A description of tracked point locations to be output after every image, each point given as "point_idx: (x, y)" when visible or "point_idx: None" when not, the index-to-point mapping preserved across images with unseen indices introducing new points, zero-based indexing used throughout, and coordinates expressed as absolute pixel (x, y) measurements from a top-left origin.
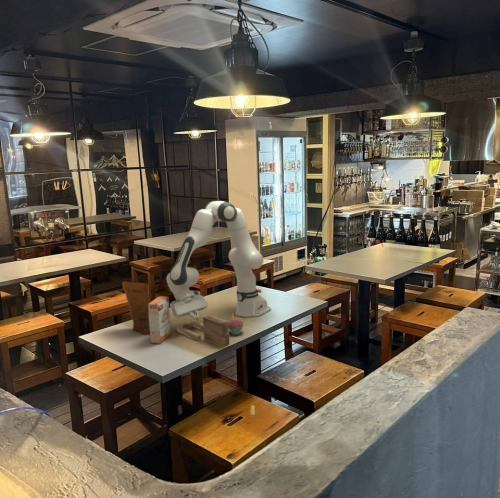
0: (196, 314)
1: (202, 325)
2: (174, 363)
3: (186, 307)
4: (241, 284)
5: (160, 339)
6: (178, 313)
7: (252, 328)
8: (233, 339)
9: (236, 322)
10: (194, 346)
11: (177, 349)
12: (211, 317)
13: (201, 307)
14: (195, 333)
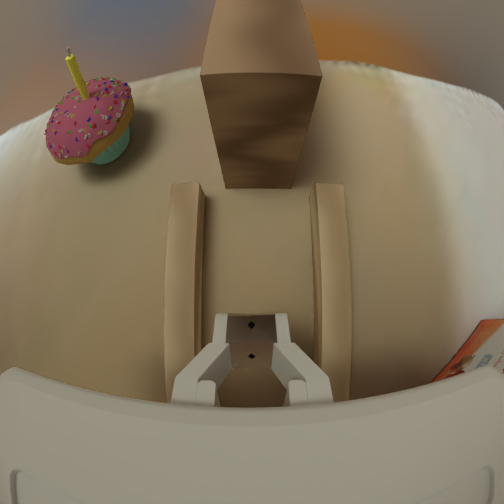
0: (217, 372)
1: (176, 345)
2: (477, 118)
3: (379, 478)
4: None
5: (496, 319)
6: (501, 375)
7: (38, 149)
8: (178, 92)
9: (91, 82)
10: (383, 157)
11: (454, 196)
12: (255, 30)
13: (86, 391)
14: (325, 240)
